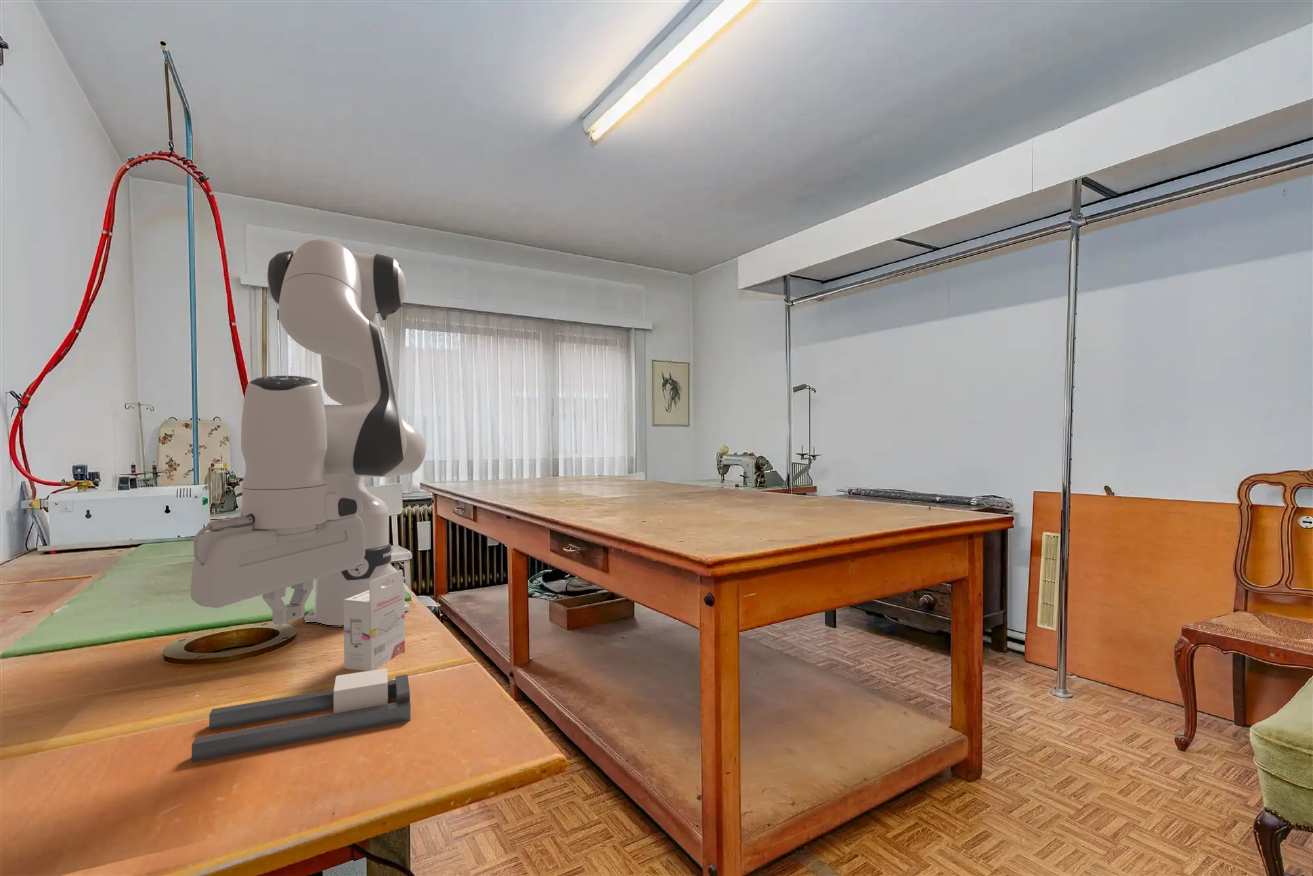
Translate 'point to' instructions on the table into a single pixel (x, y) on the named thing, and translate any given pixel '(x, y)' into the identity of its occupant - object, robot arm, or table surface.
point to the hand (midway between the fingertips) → (288, 620)
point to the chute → (296, 721)
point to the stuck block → (360, 690)
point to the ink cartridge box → (375, 624)
